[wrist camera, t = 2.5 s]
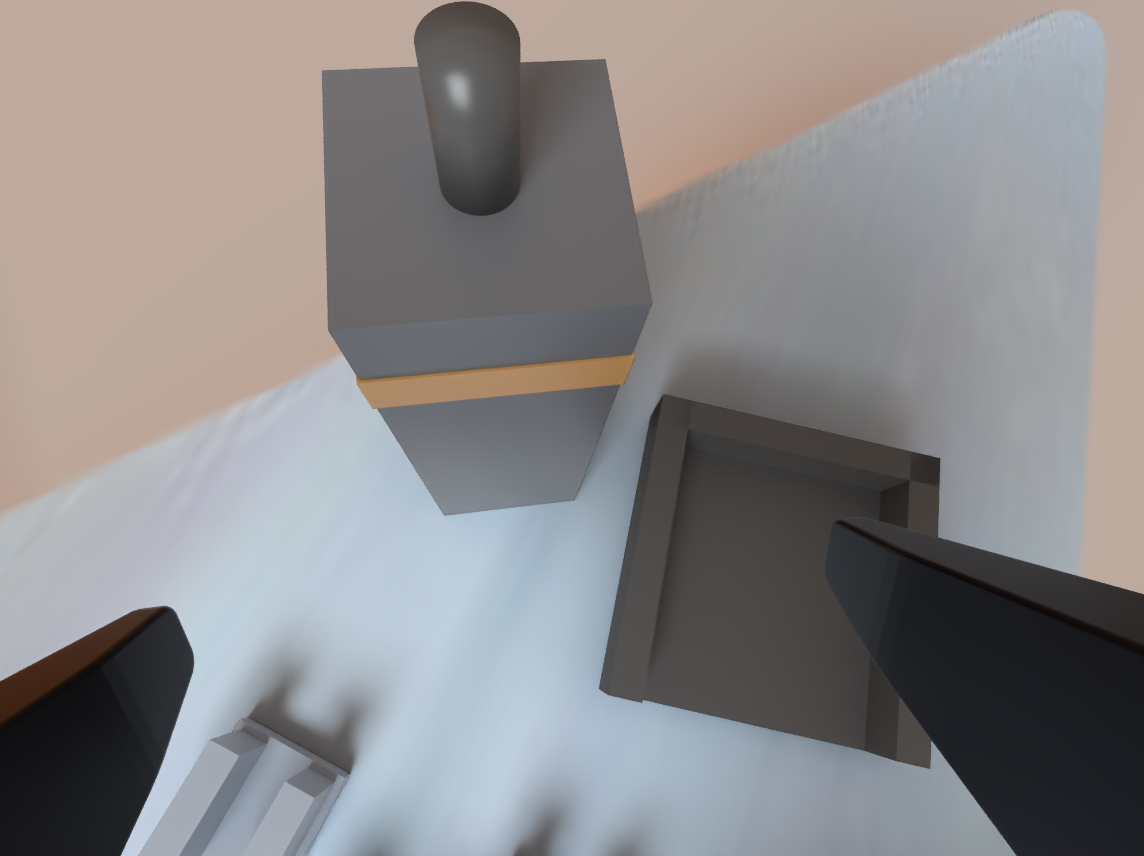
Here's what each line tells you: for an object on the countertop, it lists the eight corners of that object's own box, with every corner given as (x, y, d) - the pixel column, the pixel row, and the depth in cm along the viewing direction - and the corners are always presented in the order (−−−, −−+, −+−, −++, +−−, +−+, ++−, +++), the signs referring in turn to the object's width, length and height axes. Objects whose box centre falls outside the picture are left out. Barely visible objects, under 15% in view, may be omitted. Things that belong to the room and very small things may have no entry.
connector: (576, 501, 22) (701, 196, 7) (443, 517, 22) (254, 226, 6) (559, 379, 24) (631, -103, 8) (433, 391, 23) (259, -99, 8)
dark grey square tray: (886, 754, 21) (930, 769, 18) (599, 688, 21) (608, 695, 18) (901, 475, 24) (940, 458, 22) (650, 416, 24) (663, 394, 21)
